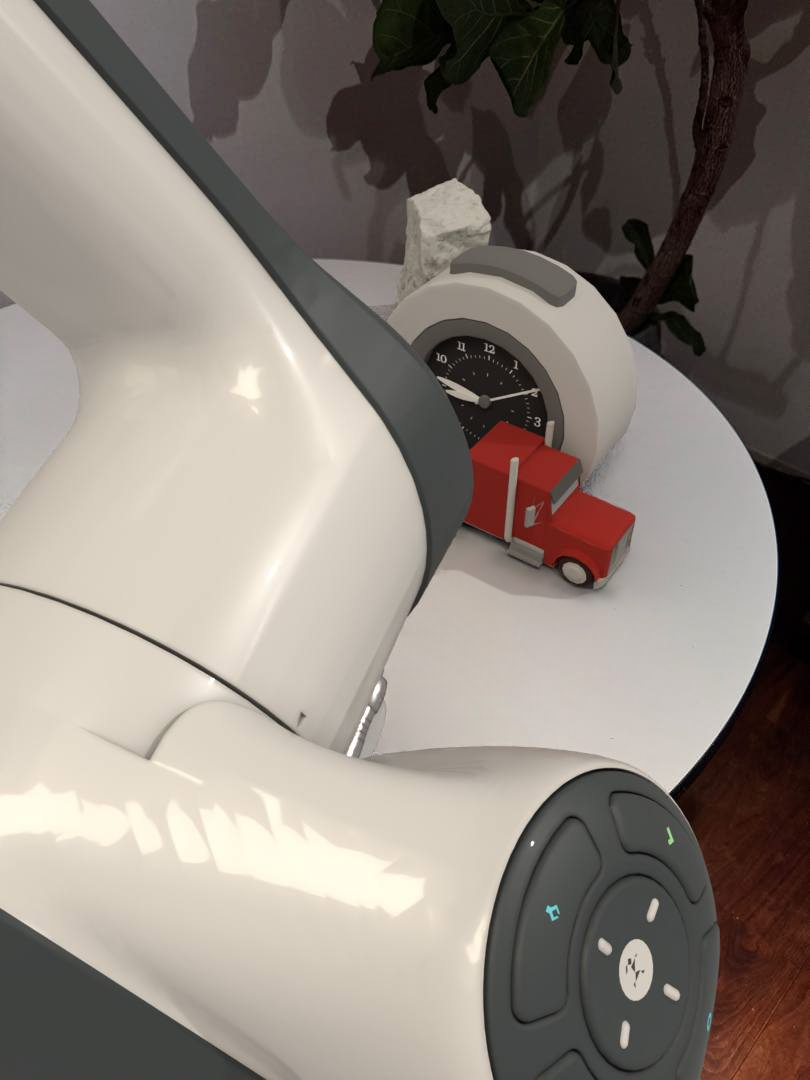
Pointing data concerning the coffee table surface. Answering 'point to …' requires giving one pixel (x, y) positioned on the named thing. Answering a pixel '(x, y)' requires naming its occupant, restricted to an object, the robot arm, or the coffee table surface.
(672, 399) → the coffee table surface
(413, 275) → the decorative stone
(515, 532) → the toy truck
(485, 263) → the alarm clock
